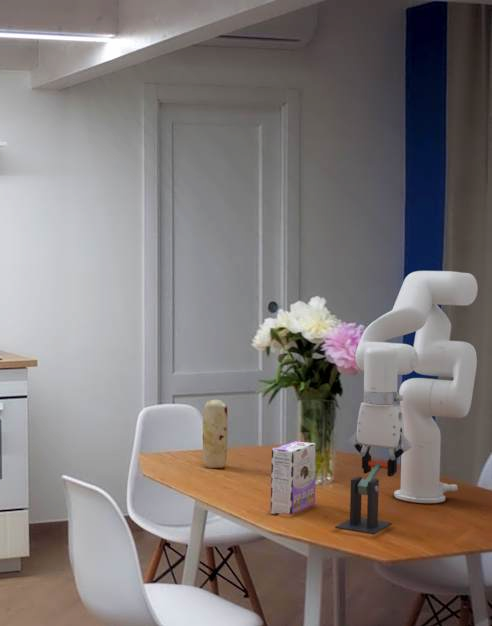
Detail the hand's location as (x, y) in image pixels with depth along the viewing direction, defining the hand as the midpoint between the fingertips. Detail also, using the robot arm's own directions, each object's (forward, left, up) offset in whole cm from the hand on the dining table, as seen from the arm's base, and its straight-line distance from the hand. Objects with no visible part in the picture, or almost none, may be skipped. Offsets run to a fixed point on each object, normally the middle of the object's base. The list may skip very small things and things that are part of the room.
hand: (379, 473), depth 254 cm
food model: (+21, -67, -12) cm, 71 cm away
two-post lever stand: (+7, +7, -12) cm, 15 cm away
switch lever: (+3, +3, -1) cm, 5 cm away
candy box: (+17, -12, -12) cm, 24 cm away
